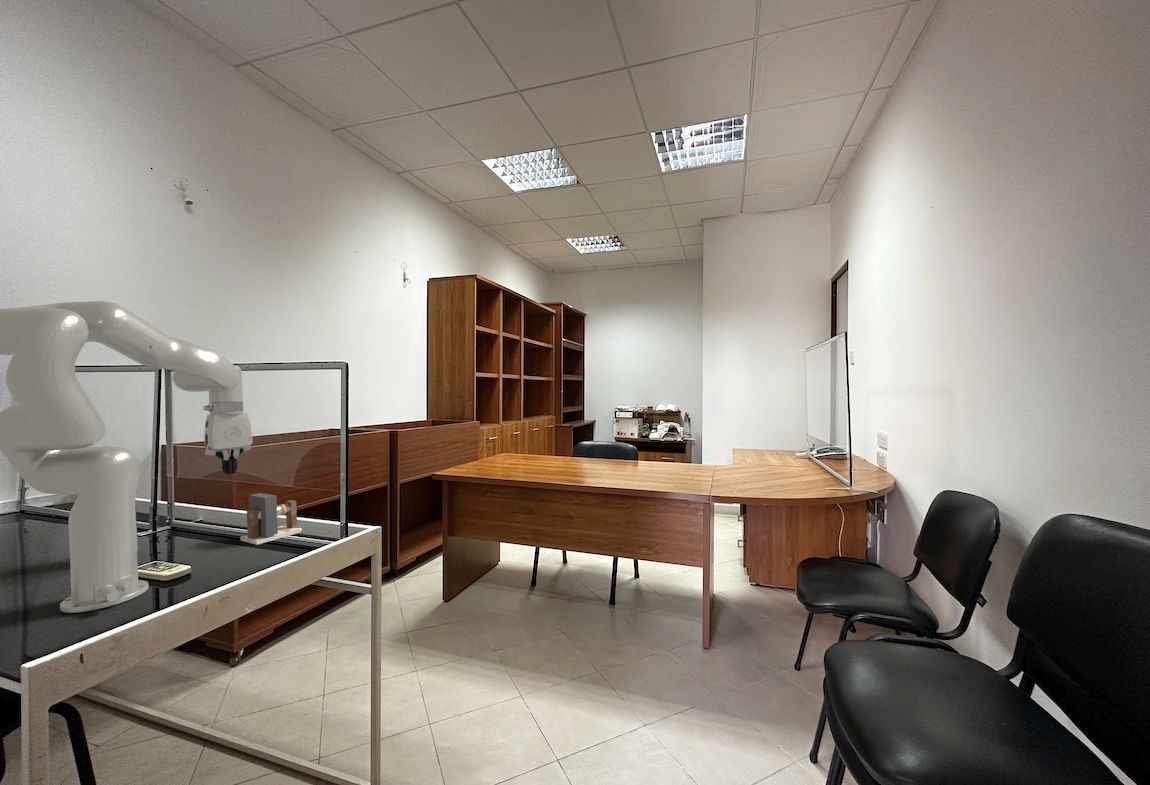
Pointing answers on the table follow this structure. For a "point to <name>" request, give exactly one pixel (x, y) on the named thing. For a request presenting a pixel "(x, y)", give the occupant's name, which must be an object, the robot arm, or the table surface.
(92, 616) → the table surface
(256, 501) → the upright gray rectangular block
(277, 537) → the pipe stand
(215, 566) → the table surface
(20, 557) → the table surface
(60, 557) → the table surface
